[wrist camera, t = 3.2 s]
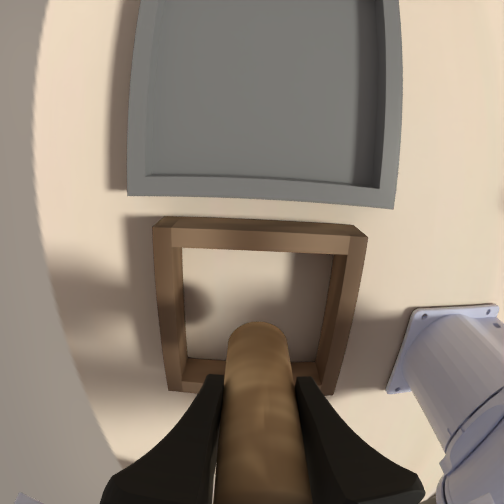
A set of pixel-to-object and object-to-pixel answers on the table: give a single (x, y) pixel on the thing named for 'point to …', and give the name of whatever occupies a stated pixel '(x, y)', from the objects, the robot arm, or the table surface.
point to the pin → (260, 423)
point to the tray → (267, 100)
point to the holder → (256, 239)
